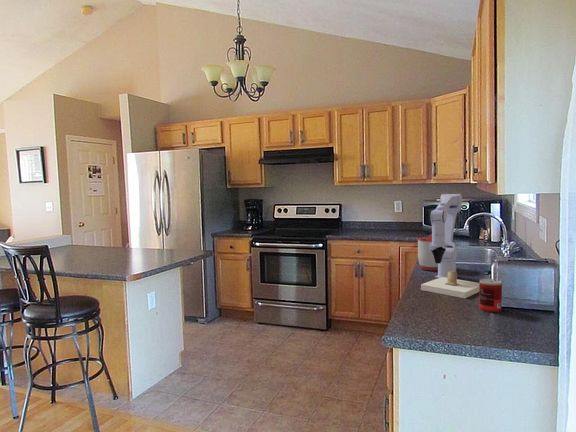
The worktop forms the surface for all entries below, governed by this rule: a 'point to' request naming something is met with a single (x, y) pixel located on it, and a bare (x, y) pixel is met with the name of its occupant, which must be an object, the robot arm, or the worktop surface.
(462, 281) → the holder board
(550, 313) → the worktop surface
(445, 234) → the robot arm
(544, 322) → the worktop surface
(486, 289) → the canned food
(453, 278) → the maple dowel
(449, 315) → the worktop surface
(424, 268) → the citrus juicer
